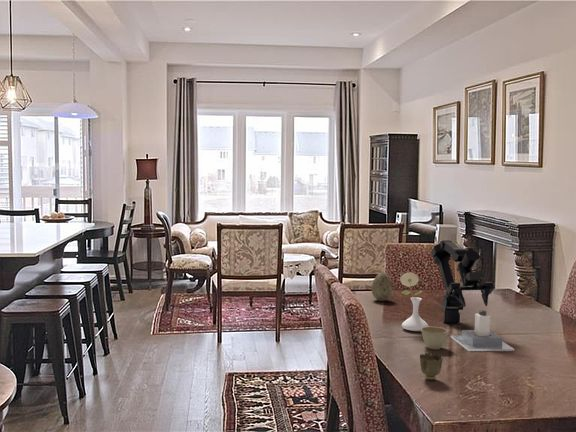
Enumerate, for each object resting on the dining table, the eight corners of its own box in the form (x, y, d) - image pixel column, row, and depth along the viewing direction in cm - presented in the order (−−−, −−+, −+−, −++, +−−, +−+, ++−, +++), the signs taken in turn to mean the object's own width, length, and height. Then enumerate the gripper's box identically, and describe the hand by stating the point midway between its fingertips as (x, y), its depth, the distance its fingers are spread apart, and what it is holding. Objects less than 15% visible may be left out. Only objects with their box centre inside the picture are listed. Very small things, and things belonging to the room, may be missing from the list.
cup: (416, 375, 213) (417, 352, 212) (437, 375, 213) (438, 352, 213) (422, 383, 205) (423, 359, 205) (444, 383, 206) (445, 359, 205)
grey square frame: (450, 337, 262) (451, 327, 262) (492, 336, 264) (493, 327, 263) (468, 351, 242) (469, 341, 242) (514, 350, 244) (514, 340, 243)
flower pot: (448, 345, 249) (448, 327, 249) (445, 352, 240) (446, 334, 239) (422, 343, 252) (423, 325, 252) (419, 349, 243) (419, 331, 242)
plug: (473, 340, 255) (475, 309, 254) (484, 340, 255) (485, 309, 254) (478, 343, 250) (479, 312, 249) (489, 343, 251) (490, 312, 250)
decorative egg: (393, 303, 325) (394, 274, 323) (372, 302, 325) (373, 274, 324) (390, 298, 335) (391, 270, 334) (370, 298, 335) (370, 270, 334)
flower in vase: (431, 328, 275) (433, 271, 273) (425, 334, 265) (427, 275, 263) (401, 324, 281) (403, 269, 279) (394, 330, 270) (396, 273, 268)
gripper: (450, 263, 263) (459, 296, 253) (493, 263, 264) (504, 295, 255) (443, 278, 271) (451, 310, 262) (485, 277, 273) (495, 309, 263)
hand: (475, 306), depth 260 cm, fingers open, 9 cm apart
